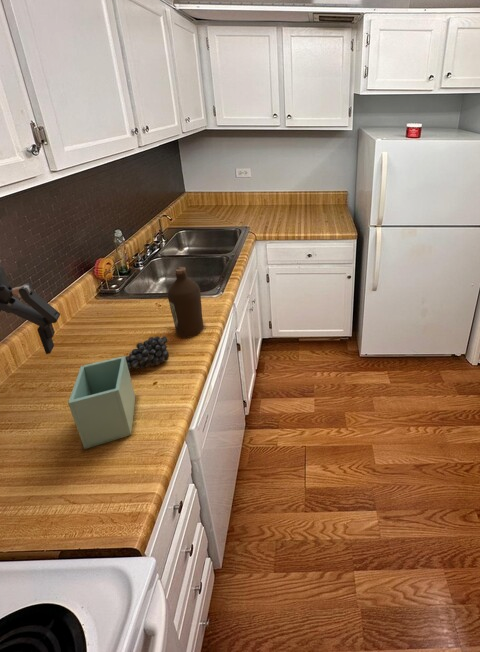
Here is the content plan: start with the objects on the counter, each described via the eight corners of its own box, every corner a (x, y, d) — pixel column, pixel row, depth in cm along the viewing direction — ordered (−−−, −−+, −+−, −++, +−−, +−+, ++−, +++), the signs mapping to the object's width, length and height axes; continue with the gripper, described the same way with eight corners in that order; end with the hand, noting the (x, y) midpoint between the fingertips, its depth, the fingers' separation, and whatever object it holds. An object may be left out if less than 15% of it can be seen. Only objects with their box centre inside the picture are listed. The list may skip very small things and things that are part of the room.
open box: (118, 390, 77) (125, 355, 88) (67, 403, 74) (80, 365, 84) (131, 434, 83) (135, 397, 93) (84, 449, 79) (94, 409, 90)
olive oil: (202, 317, 128) (194, 259, 119) (207, 333, 119) (199, 272, 110) (173, 325, 123) (162, 265, 114) (175, 342, 115) (164, 279, 105)
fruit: (113, 354, 96) (168, 336, 103) (115, 345, 104) (166, 329, 111) (120, 381, 97) (174, 362, 104) (121, 370, 105) (172, 353, 112)
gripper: (-133, 292, 55) (-79, 388, 63) (48, 267, 64) (76, 354, 72) (-101, 272, 62) (-55, 361, 70) (59, 252, 71) (84, 333, 78)
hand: (11, 358), depth 71 cm, fingers open, 13 cm apart
